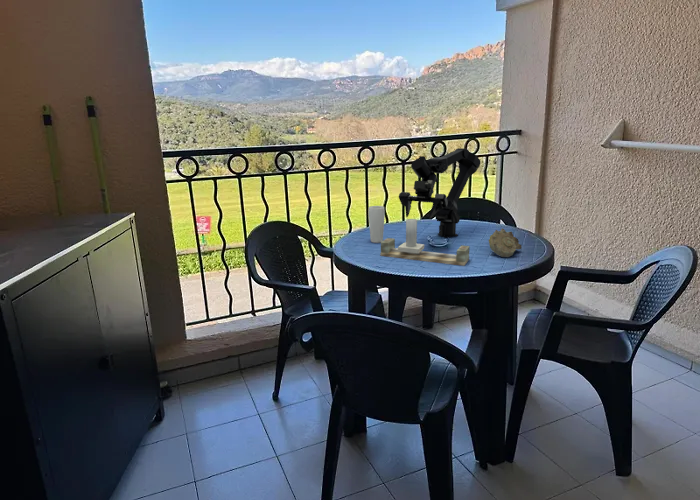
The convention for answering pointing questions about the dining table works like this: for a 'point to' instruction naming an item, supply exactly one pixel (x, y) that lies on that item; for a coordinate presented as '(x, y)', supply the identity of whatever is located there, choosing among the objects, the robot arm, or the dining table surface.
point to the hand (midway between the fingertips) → (417, 217)
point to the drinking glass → (376, 223)
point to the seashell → (503, 243)
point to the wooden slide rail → (425, 254)
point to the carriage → (411, 238)
